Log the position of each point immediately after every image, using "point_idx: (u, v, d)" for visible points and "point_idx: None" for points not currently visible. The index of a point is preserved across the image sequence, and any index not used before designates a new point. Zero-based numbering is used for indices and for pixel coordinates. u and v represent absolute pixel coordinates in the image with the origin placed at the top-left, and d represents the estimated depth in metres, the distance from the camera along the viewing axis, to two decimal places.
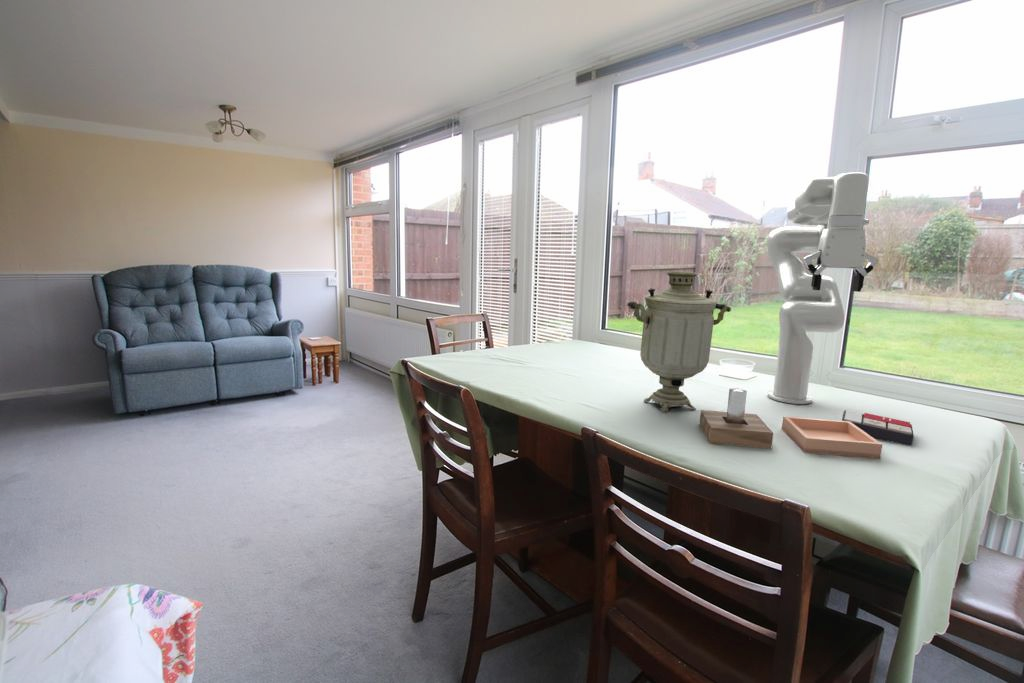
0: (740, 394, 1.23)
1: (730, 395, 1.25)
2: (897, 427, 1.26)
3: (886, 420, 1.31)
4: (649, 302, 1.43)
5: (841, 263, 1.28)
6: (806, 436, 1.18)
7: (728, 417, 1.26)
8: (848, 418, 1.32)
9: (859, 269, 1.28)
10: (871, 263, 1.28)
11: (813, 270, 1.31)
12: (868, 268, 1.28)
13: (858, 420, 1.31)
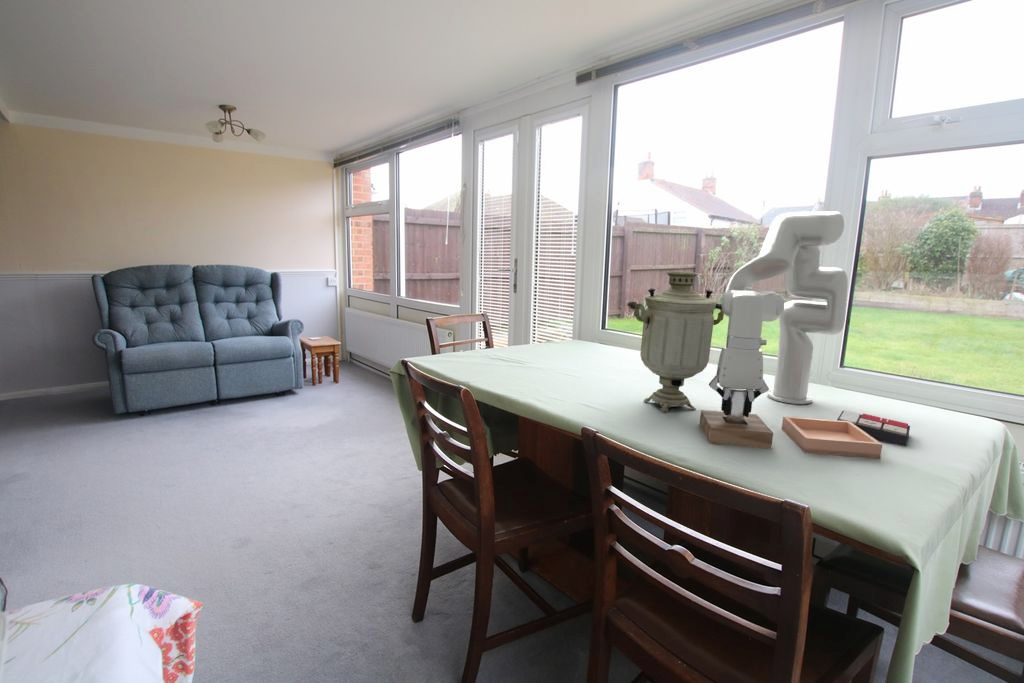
0: (740, 394, 1.23)
1: (730, 395, 1.25)
2: (892, 428, 1.26)
3: (883, 421, 1.31)
4: (649, 302, 1.43)
5: (738, 384, 1.23)
6: (806, 436, 1.18)
7: (728, 417, 1.26)
8: (843, 418, 1.32)
9: (749, 393, 1.24)
10: (761, 389, 1.24)
11: (722, 394, 1.25)
12: (756, 393, 1.24)
13: (853, 420, 1.31)
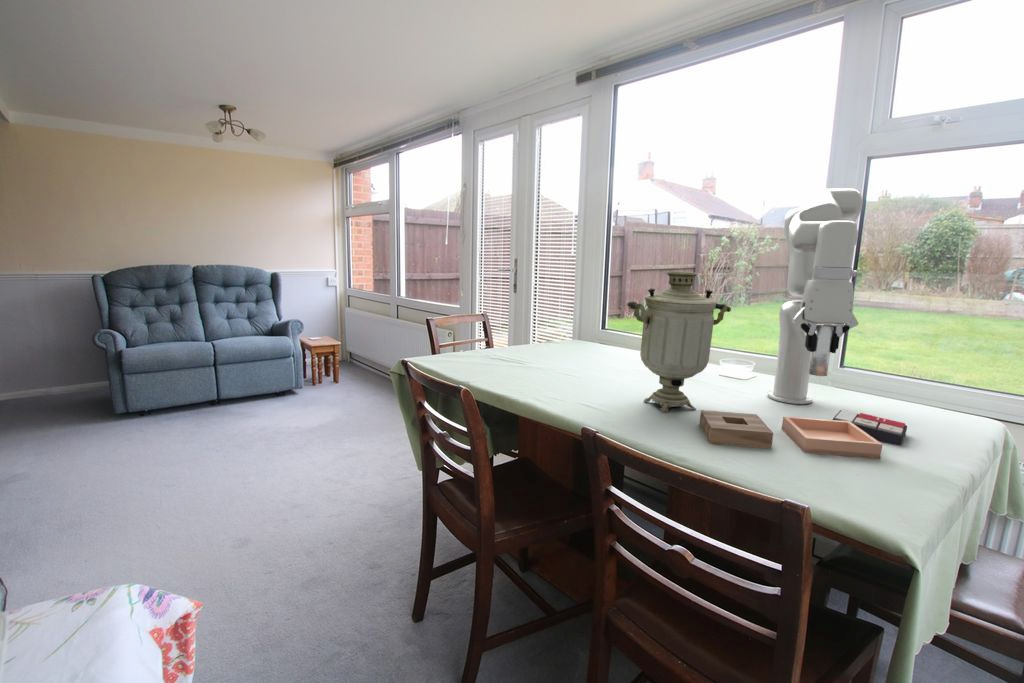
0: (827, 328, 1.17)
1: (816, 330, 1.19)
2: (888, 427, 1.26)
3: (880, 420, 1.31)
4: (649, 302, 1.43)
5: (826, 318, 1.17)
6: (806, 436, 1.18)
7: (813, 354, 1.20)
8: (839, 417, 1.32)
9: (837, 327, 1.18)
10: (850, 324, 1.18)
11: (807, 330, 1.20)
12: (844, 328, 1.18)
13: (849, 419, 1.31)
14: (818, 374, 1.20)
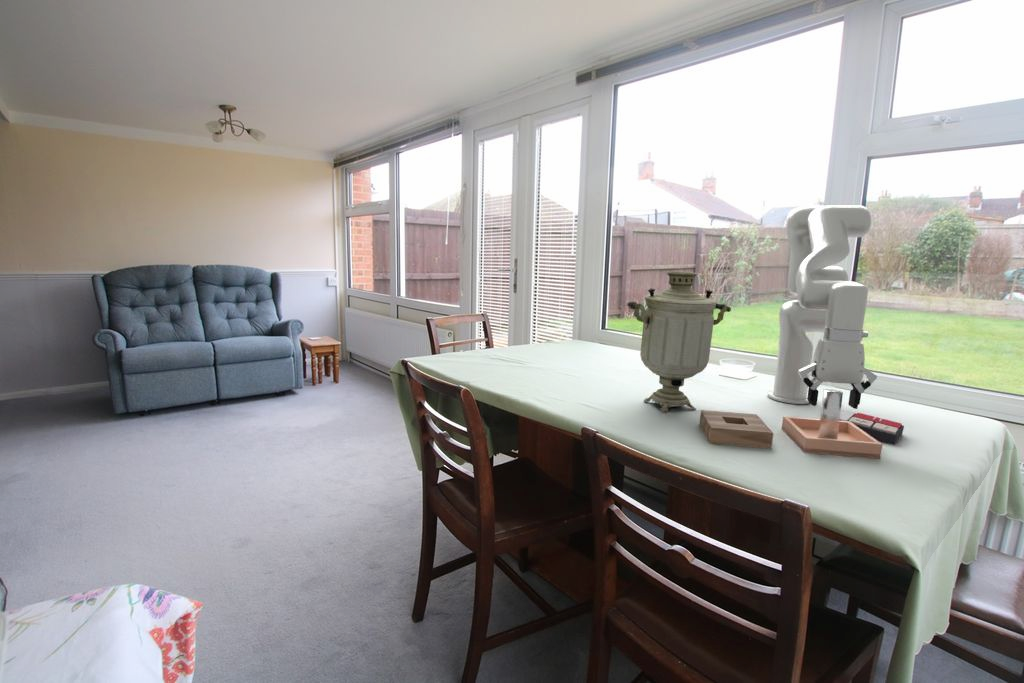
0: (837, 395, 1.20)
1: (825, 396, 1.22)
2: (883, 427, 1.27)
3: (876, 420, 1.31)
4: (649, 302, 1.43)
5: (838, 378, 1.19)
6: (806, 436, 1.18)
7: (823, 419, 1.23)
8: None
9: (856, 385, 1.19)
10: (869, 379, 1.19)
11: (809, 384, 1.22)
12: (865, 384, 1.19)
13: (844, 418, 1.32)
14: None
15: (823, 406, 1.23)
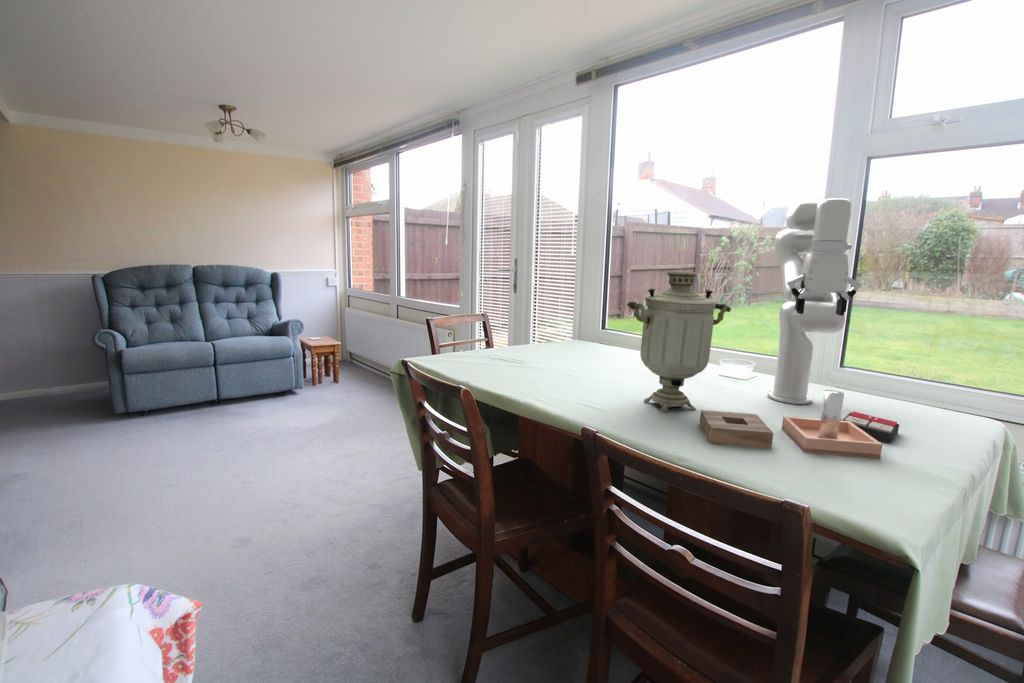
0: (838, 396, 1.20)
1: (826, 397, 1.21)
2: (878, 425, 1.27)
3: (871, 419, 1.32)
4: (649, 302, 1.43)
5: (824, 287, 1.29)
6: (806, 436, 1.18)
7: (823, 420, 1.22)
8: None
9: (842, 293, 1.29)
10: (854, 287, 1.29)
11: (796, 294, 1.32)
12: (851, 292, 1.29)
13: None
14: None
15: (824, 407, 1.22)
